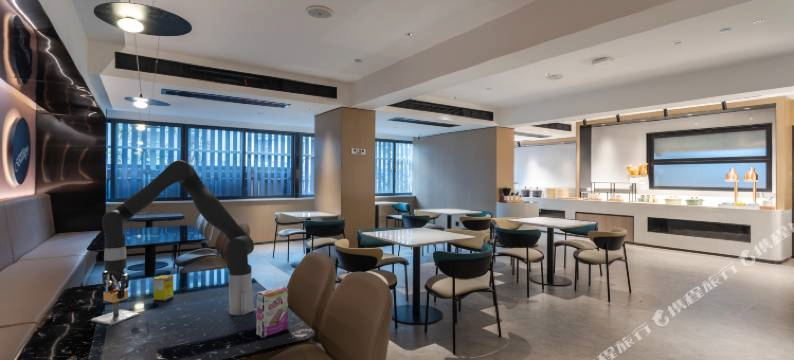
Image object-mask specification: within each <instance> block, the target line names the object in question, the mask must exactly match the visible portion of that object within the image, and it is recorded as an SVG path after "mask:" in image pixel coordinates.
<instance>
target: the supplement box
mask: <svg viewBox="0 0 794 360" xmlns="http://www.w3.org/2000/svg"><path fill="white" fill-rule="evenodd" d="M152 279H153V302H167V301H169V300H171V299H172V298H173V299H174V275H167V274H166V275H159V276H156V277H154V278H152Z"/></svg>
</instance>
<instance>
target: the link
mask: <svg viewBox="0 0 794 360" xmlns="http://www.w3.org/2000/svg"><path fill="white" fill-rule="evenodd" d="M102 293H103V302H109V303H112V304H113V303H114V302H117V301H123V300H126V299H129V290H128V289H127V288H126V289H125V293H124V294H125V296H124V298H122V299H118V288H117V287H116V288H114V290H110V291H107V290H106V291H103V292H102Z"/></svg>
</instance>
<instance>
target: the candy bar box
mask: <svg viewBox="0 0 794 360" xmlns="http://www.w3.org/2000/svg"><path fill="white" fill-rule="evenodd" d="M288 309H289V288H287V287H285V286H281V285H280V286H277V287H276V286H275V287H273V288H268V289H264V290H262V291H257V292H256V315H255V316H256V325H255V326H256V329H255V332H256V333H255V334H256V335H257V336H258V337H259V338H262V339H263V338H267V337H269V336H272V335H275V334H278V333H280V332H283V331H286V330H288V328H289V326H288V322H289V318H288V317H289V315H288V314H289V310H288Z"/></svg>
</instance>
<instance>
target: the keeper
mask: <svg viewBox="0 0 794 360" xmlns="http://www.w3.org/2000/svg"><path fill="white" fill-rule="evenodd" d="M138 315H139V316H141V313H140V312H136V311H132V310H127V309H122V308H121V309H120V302H119V301H117V302H114V303H113V302H112V312H109V313H106V314H102V315H99V316H97V317H93V318H91V319H90V321H91V322H94V323H98V324H103V325H107V324H108V325H107V326H113V325H116V324H118V322H119V323H121V321H122V322H124V321H127V320H129V318H130V319H133V318H136V317H138ZM135 316H136V317H135ZM132 317H133V318H132ZM126 319H127V320H126ZM115 323H116V324H115ZM112 324H113V325H112Z"/></svg>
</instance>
